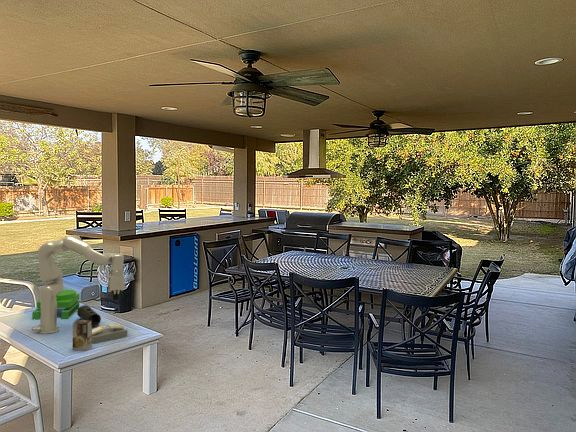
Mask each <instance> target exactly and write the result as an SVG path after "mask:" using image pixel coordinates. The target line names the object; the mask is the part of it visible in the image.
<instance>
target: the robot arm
mask: <svg viewBox="0 0 576 432" xmlns="http://www.w3.org/2000/svg"><path fill="white" fill-rule="evenodd" d="M65 251H72V252H74V253H76V254H79V255H81V256H83V257H84V258H85V259H86V260H87V261H89V262H91V263H93V264H96V265H98V266H107V265H109V264H111V265H110V270H109V271H108V274H109V276H108V280H107V292H108V293H112V300H114V301H118V299H119V295H120V293H121V292H123V291H124V290H125V288H126V287H125V286H126V281H125V280H126V279H125V274H124V263H125V262H124V260H125V259H124V258H125V256H124V254H123V253H113V252H103V253H101V252H98V251H96V250H94V249H93V248H92V247H91V244H90V243H88V242H87V241H84V240H82V238H81V236H79V235H78V234H71V235H67V236H64V238H60V239H56V240H52V241H48V242H45V243H44V244H42V245H40V246H39V248H38V250H37V260H38V267H39V268H38V269H39V277H40V280H41V281H42V282H44V283H47V284H44V285H43V286H41V287H40V289H39V293H38V295H39V301H40V302H41V319H39V320H40V321H39V322H40V323H39V325H37V326H34V327H31V330H32V331H37V333H38V334H42V335H44V334H46V335H47V334H53V333H54V334H55V333H57V332H59V331H60V328H59V327H58V326H57V325H58V318H57V317H58V308H57V301H56V296H57V295H59V294H60V293H61V292H62V291H63V290H64V279H63V278H64V277H63V272H62V269H61V267H59V266H57V265H55V263H54V262H55V261H54V258H53V255H55V254H59V253H62V252H65Z"/></svg>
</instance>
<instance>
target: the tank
mask: <svg viewBox="0 0 576 432" xmlns="http://www.w3.org/2000/svg"><path fill="white" fill-rule="evenodd" d="M56 301H57V309H63V310H62V311H61V315H60V316H61V320H70V318H71V317H72V316H73V315H74V314H75V313H77V311H78V309H79V307H80V293H77V291H76V290H74V289H63V291H62V292H61V293H60V294H59V295H57V296H56ZM31 319H33V321H38V320H40V319H41V302H40V300H39V301H37V302H36V309H35V310H33V311H32V318H31ZM34 319H35V320H34Z"/></svg>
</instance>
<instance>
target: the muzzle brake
mask: <svg viewBox="0 0 576 432" xmlns="http://www.w3.org/2000/svg"><path fill="white" fill-rule="evenodd" d="M76 314H77V316H78V317H79V319H81V320H92V329H95V328H96V326H97V327H98V325H99V324H100V323H101V321H102V318H101V315H100V314H98V313H97V312H96V311H95V310H93V309H92V308H91V306H89V305H86V304H84V305H81V306H79V309H78V310H77V311H76Z"/></svg>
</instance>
